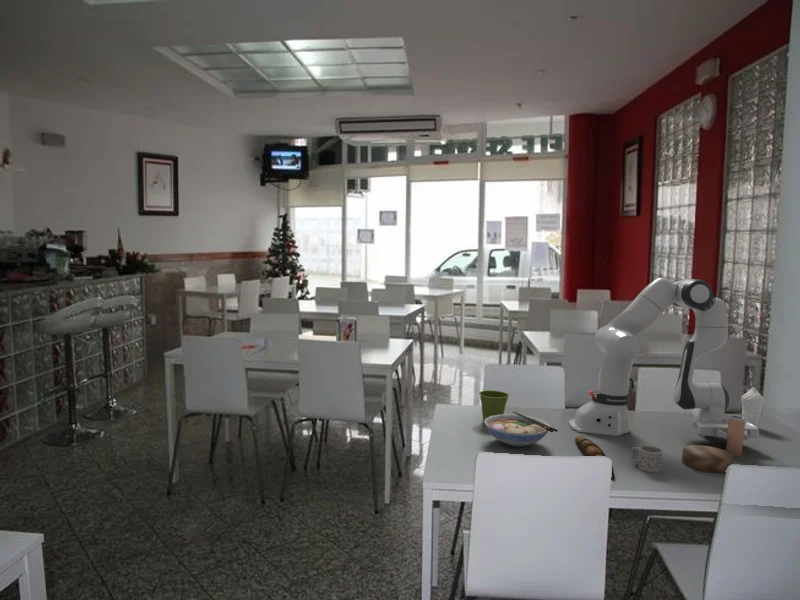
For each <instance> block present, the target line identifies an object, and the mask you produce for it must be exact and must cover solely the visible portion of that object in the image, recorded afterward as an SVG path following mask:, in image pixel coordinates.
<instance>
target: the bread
mask: <svg viewBox="0 0 800 600" xmlns="http://www.w3.org/2000/svg"><path fill="white" fill-rule="evenodd" d="M575 443H576V445H577V446H578V448H579V449H580V450H581V451H582V453H584V455H585V456H586V457H587V456H606V457H607V458H608V456H607V455H606V454H605V452H604V451H603V449H602V448H601V447H600V446H599V445H598V444H597V443H595V442H593V441H592V440H590V439H588V438H586V437H584V436H582V435H579V436H577V437H575ZM615 478H616V477H615V470H614V467H613V466H612V479H611V480H615Z"/></svg>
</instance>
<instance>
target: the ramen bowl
mask: <svg viewBox="0 0 800 600" xmlns="http://www.w3.org/2000/svg"><path fill="white" fill-rule="evenodd" d="M512 413H513V414H511V413H508V414H506V413H504V414H502V415H494V416H490V417H488V418H486V419H485V421H483V423H484V425H485V428H486V429H487V431H488V432H489V434H490V435H491V436H492V437H493V438H494V439H496V440H497V441H498V442H501V443H504V444H506V445H507V446H509V447H513V448H514V447H515V448H522V447H526V446H530V445H533V444H535V443H538V442H540V441H541V440H543V439H544V437H546V435H547V434H548V433H549V432H550V433H553V432H555V433H557V432H558V431H559V430H558V429H557V428H553V427H552V426H551V425H550V424H549V423H548V422H546V421H545V420H542V419H540V418H537V417H532V416H528V415H523V414H521V413H518V412H516V411H512Z"/></svg>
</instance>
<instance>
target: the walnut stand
mask: <svg viewBox="0 0 800 600" xmlns="http://www.w3.org/2000/svg"><path fill="white" fill-rule="evenodd" d="M681 457H682V458H681V461H682V463H683V464H684V465H686V466H687V467H689V468H691V469H694V470H697V471H699V472H704V473H705V472H706V473H712V474H725V471H726V469H727V467H728V466H729V465H731V464H733V465H734V458H735V457H734V456H733V455H732V454H731V453H729V452H727V451H726V449H725V450H724V449H723V448H722V449H721V448H719V447H713V446H708V445H703V444H702V445H700V444H699V445H698V444H690V445H685V446H684V447H682V456H681Z"/></svg>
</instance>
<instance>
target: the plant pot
mask: <svg viewBox="0 0 800 600" xmlns="http://www.w3.org/2000/svg"><path fill="white" fill-rule="evenodd" d="M478 395H479V398H480V404H481V412H482V420H483V422H484V421H485V419H486V418H488V417H490V416H494V415H502V414H505V409H506V406H507V405H506V404H507V402H508V398H509V397H510V394H509V393H507V392H504V391H501V390H500V391H499V390H481V391H479V392H478Z"/></svg>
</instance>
